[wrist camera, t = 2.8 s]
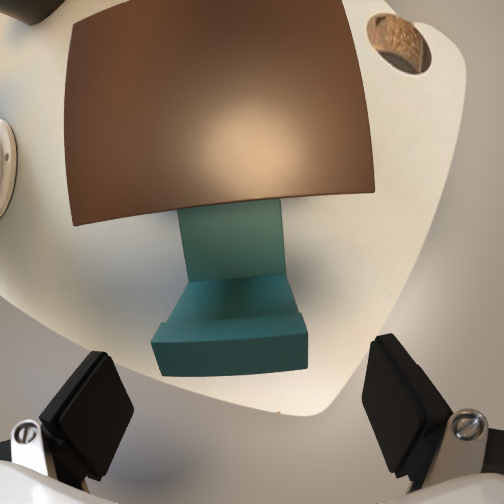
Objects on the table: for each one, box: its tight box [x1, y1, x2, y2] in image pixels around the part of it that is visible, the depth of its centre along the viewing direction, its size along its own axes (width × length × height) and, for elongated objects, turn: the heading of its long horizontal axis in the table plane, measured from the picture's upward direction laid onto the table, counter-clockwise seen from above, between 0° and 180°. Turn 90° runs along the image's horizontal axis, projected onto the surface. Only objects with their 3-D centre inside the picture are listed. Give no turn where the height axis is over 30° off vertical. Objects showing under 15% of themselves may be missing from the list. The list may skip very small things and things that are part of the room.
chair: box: [151, 199, 308, 377], centre depth 15 cm, size 8×6×13 cm
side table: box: [64, 0, 375, 226], centre depth 14 cm, size 12×10×12 cm
